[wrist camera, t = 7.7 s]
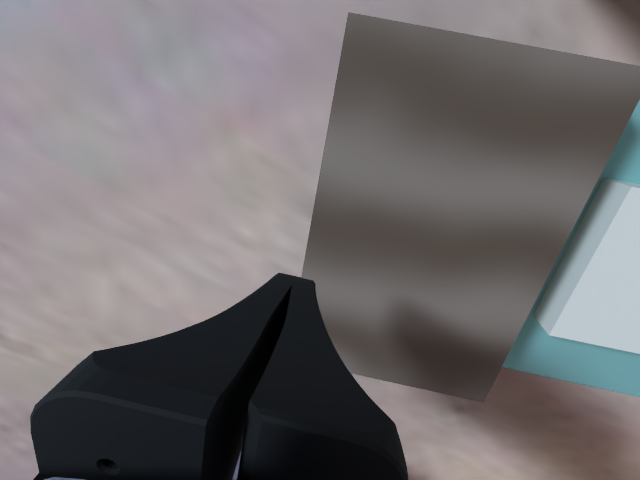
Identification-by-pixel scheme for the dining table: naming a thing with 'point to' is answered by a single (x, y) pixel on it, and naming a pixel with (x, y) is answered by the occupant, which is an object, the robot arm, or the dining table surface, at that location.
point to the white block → (599, 274)
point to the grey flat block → (451, 194)
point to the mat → (573, 356)
